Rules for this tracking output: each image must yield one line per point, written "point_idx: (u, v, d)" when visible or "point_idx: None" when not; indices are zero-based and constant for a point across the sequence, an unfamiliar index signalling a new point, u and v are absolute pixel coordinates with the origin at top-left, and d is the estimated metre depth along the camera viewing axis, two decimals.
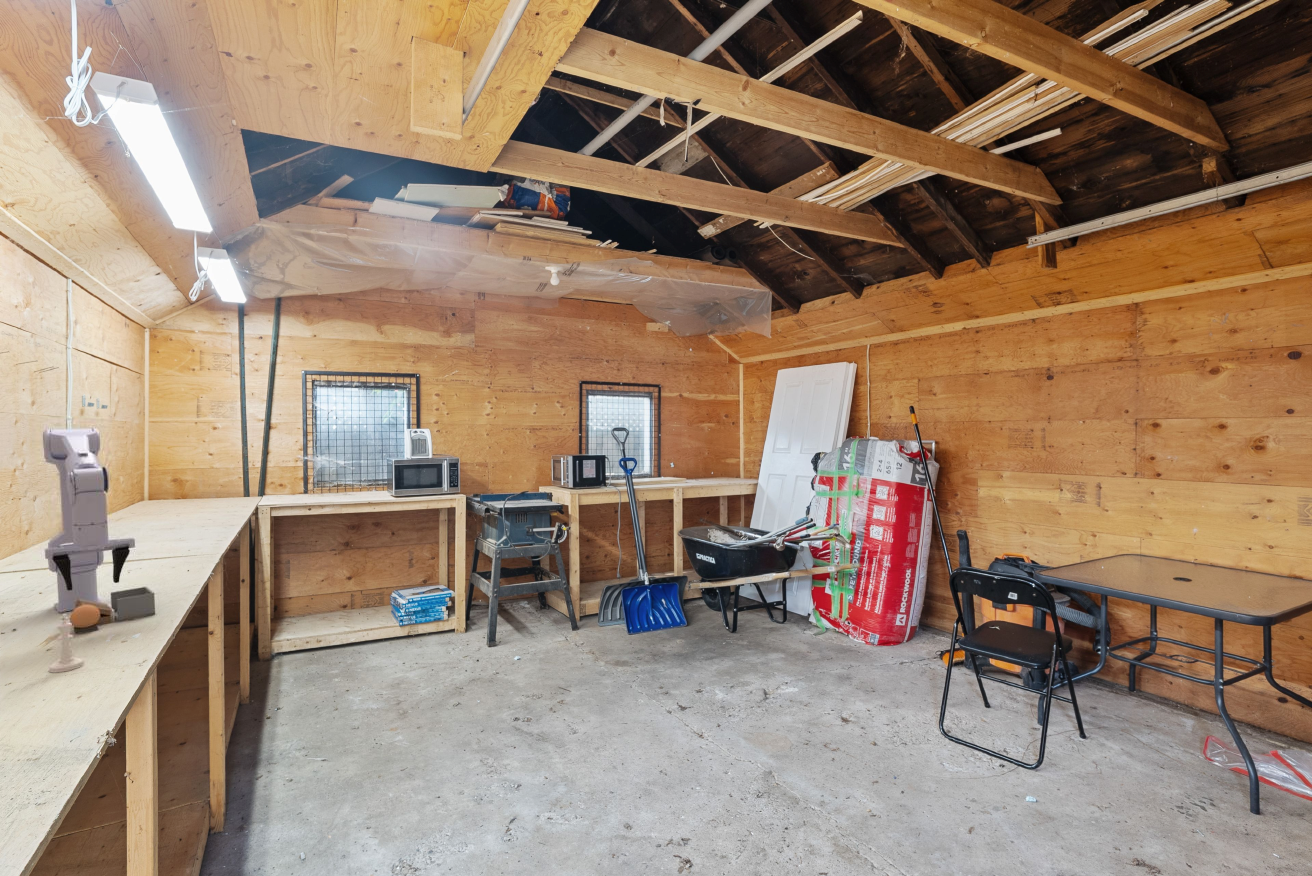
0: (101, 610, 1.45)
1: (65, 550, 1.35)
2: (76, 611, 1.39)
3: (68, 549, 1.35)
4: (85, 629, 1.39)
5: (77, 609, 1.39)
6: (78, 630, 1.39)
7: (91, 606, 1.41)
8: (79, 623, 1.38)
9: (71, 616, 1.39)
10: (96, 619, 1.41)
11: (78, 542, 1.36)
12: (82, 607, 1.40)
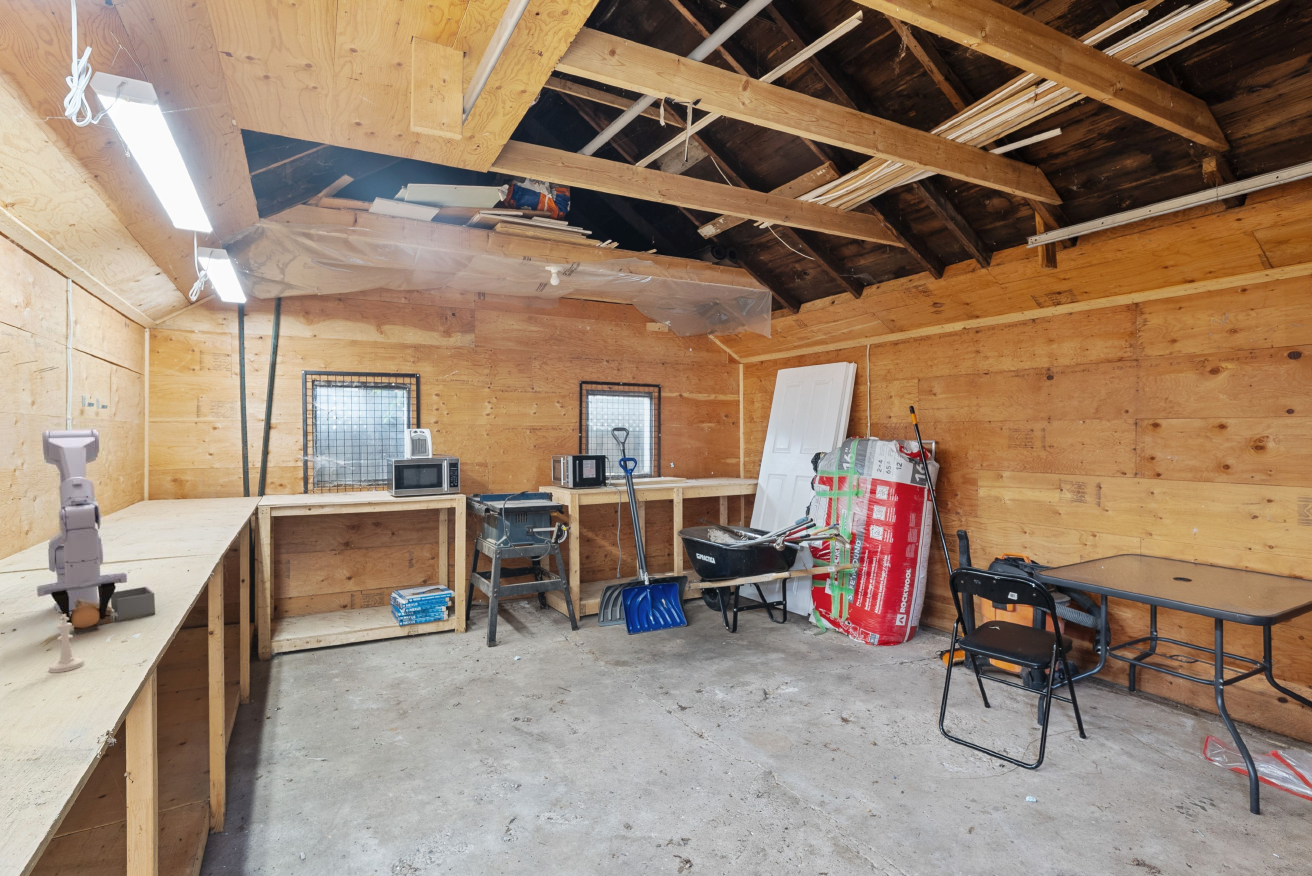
0: None
1: (57, 587, 1.36)
2: (77, 611, 1.39)
3: (60, 586, 1.36)
4: (85, 629, 1.39)
5: (77, 609, 1.39)
6: (78, 630, 1.39)
7: (91, 606, 1.41)
8: (79, 623, 1.38)
9: (71, 616, 1.39)
10: (96, 619, 1.41)
11: (70, 579, 1.37)
12: (82, 607, 1.40)
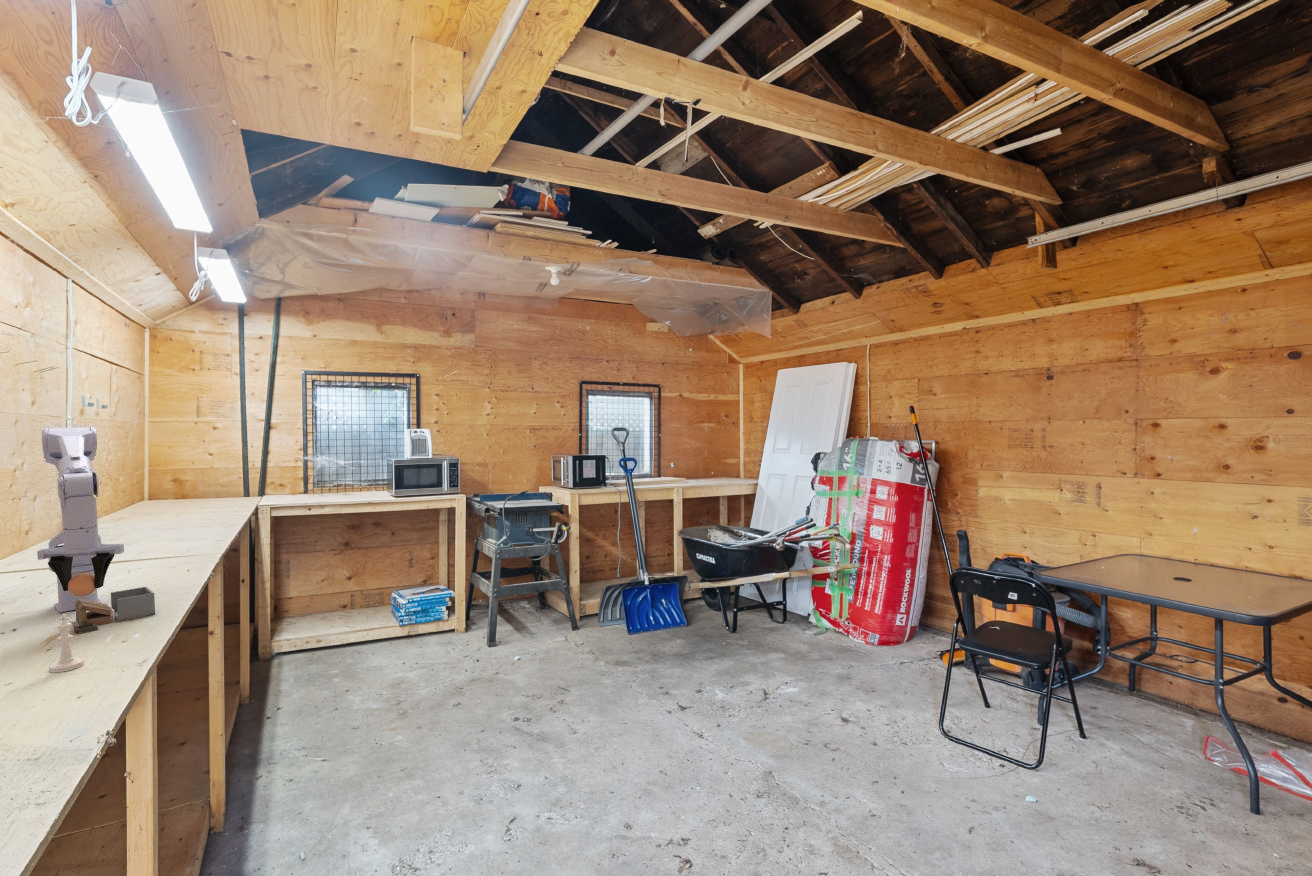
0: (101, 610, 1.45)
1: (52, 552, 1.39)
2: (72, 578, 1.40)
3: (55, 552, 1.39)
4: (85, 629, 1.39)
5: (74, 576, 1.41)
6: (78, 630, 1.39)
7: (87, 575, 1.42)
8: (71, 590, 1.39)
9: (68, 583, 1.40)
10: (88, 588, 1.41)
11: (64, 546, 1.39)
12: (78, 575, 1.41)
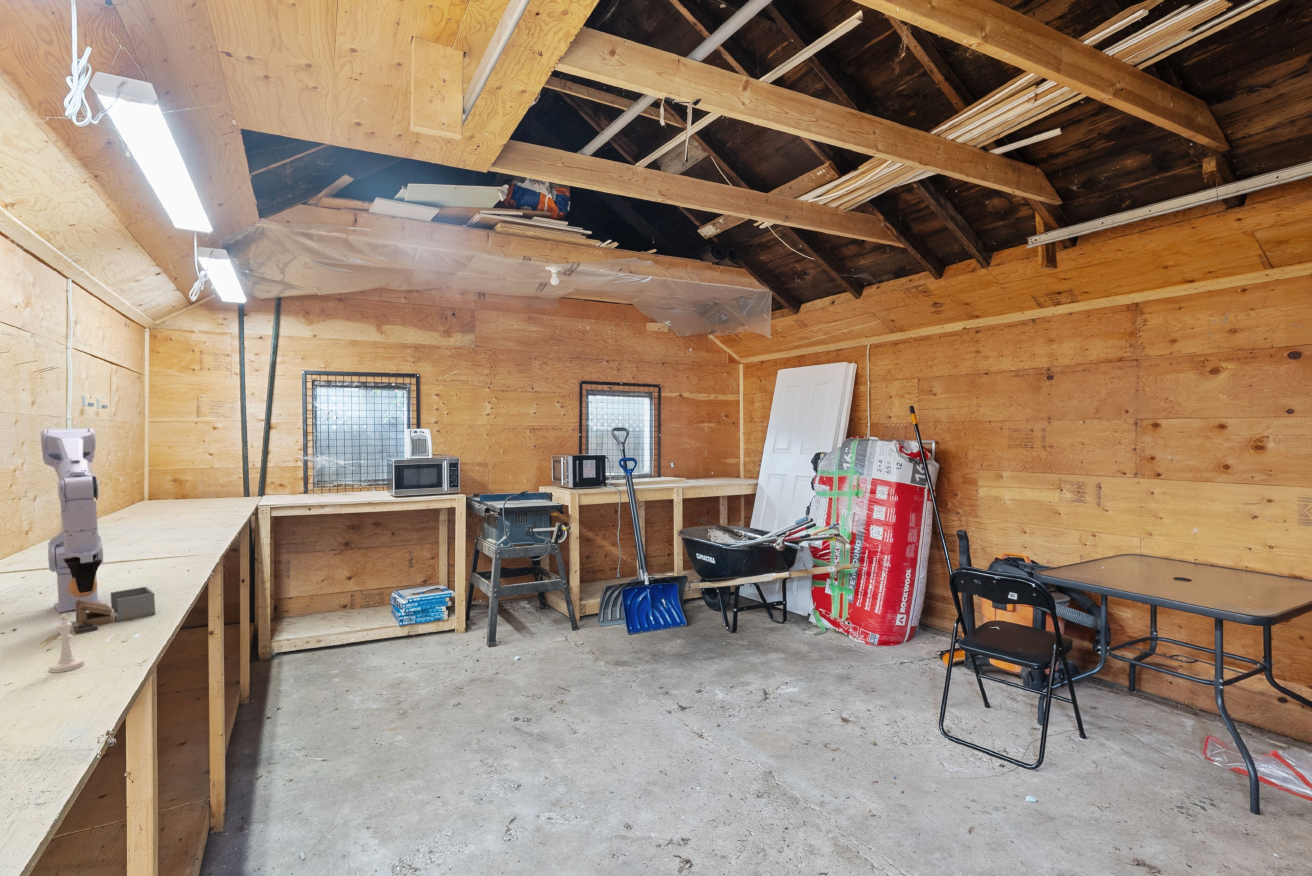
0: (101, 610, 1.45)
1: None
2: None
3: None
4: (85, 629, 1.39)
5: None
6: (78, 630, 1.39)
7: None
8: None
9: None
10: (73, 591, 1.43)
11: None
12: None
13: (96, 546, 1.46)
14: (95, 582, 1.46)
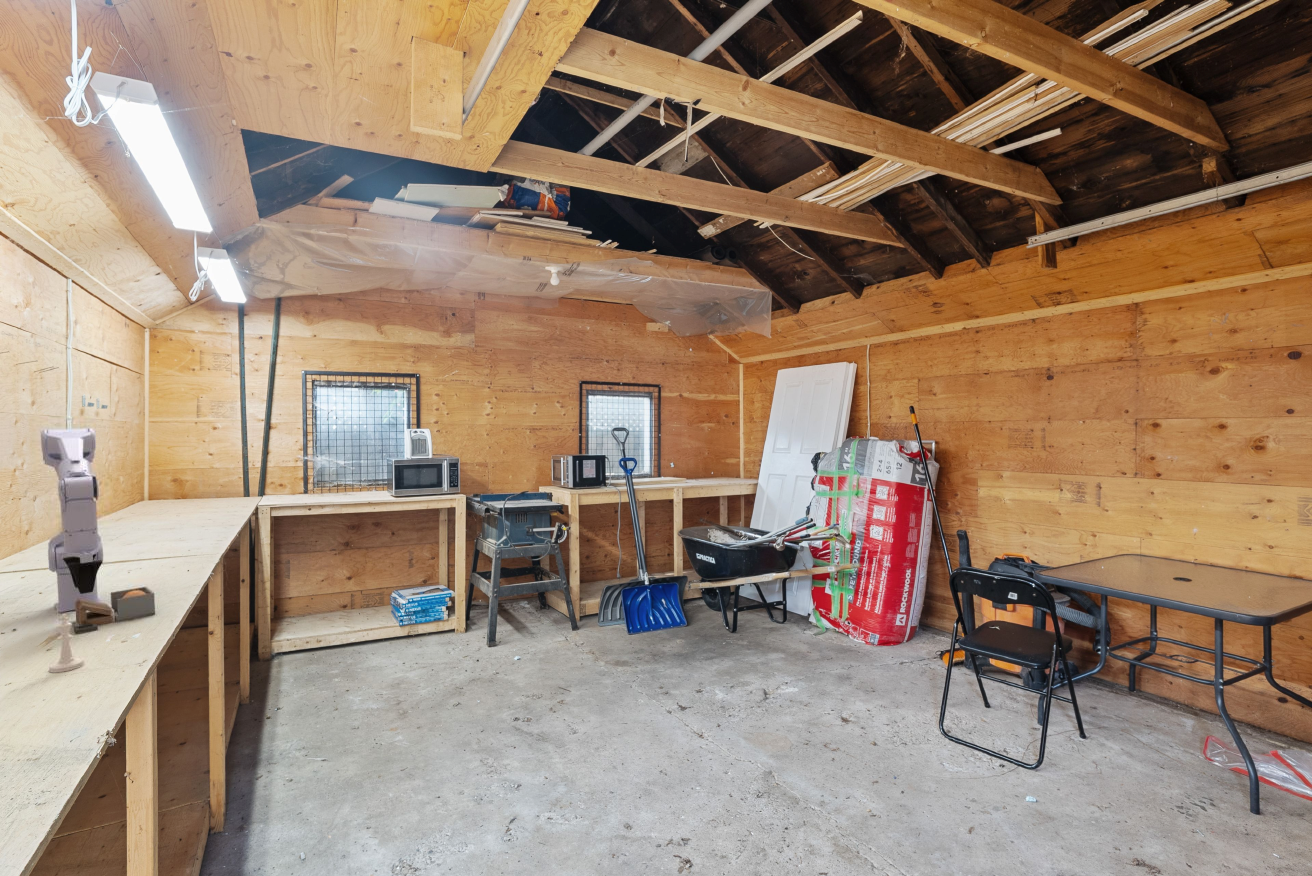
0: (101, 610, 1.45)
1: None
2: None
3: None
4: (85, 629, 1.39)
5: None
6: (78, 630, 1.39)
7: None
8: None
9: None
10: None
11: None
12: None
13: (96, 546, 1.46)
14: None
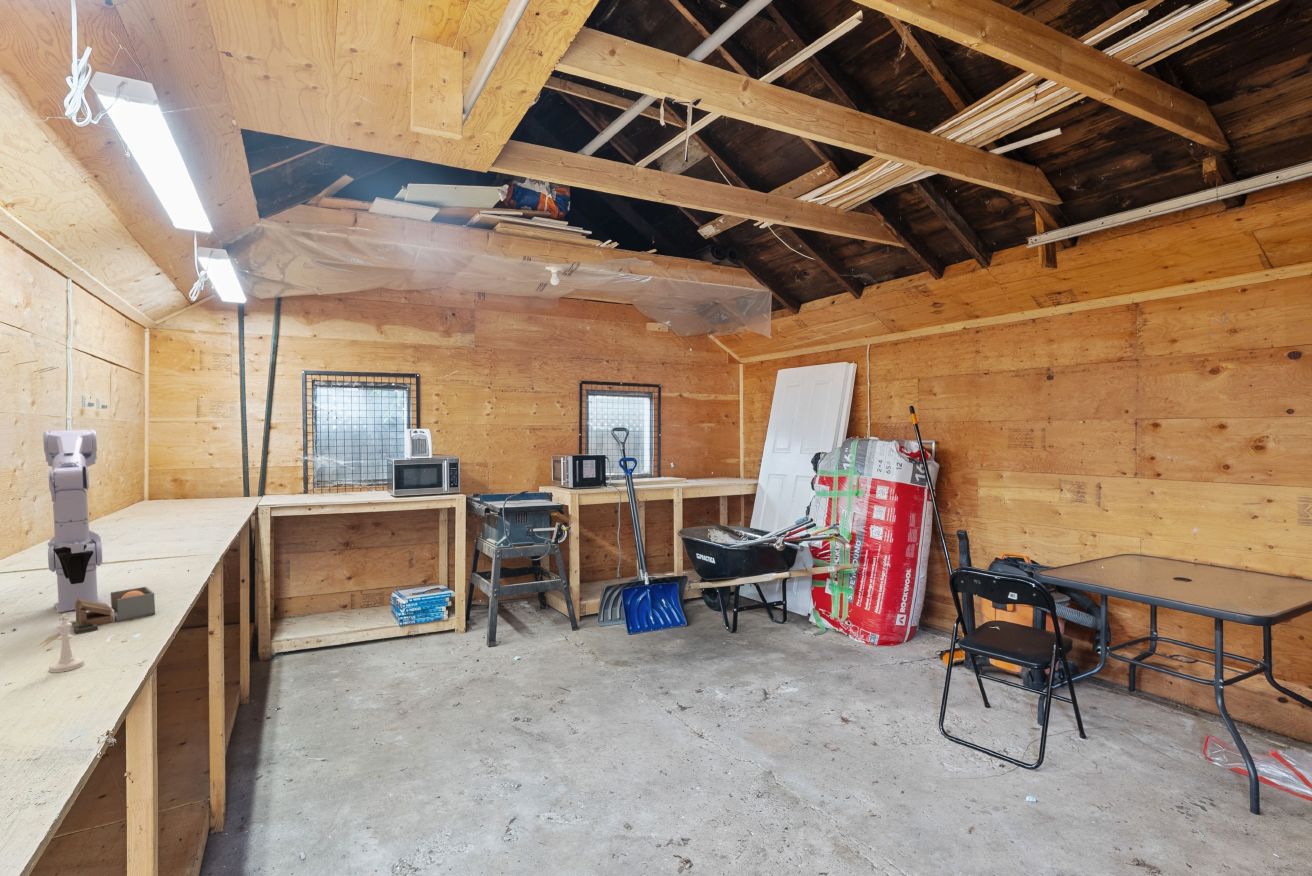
0: (101, 610, 1.45)
1: None
2: None
3: None
4: (85, 629, 1.39)
5: None
6: (78, 630, 1.39)
7: None
8: None
9: None
10: None
11: None
12: None
13: (87, 537, 1.45)
14: None
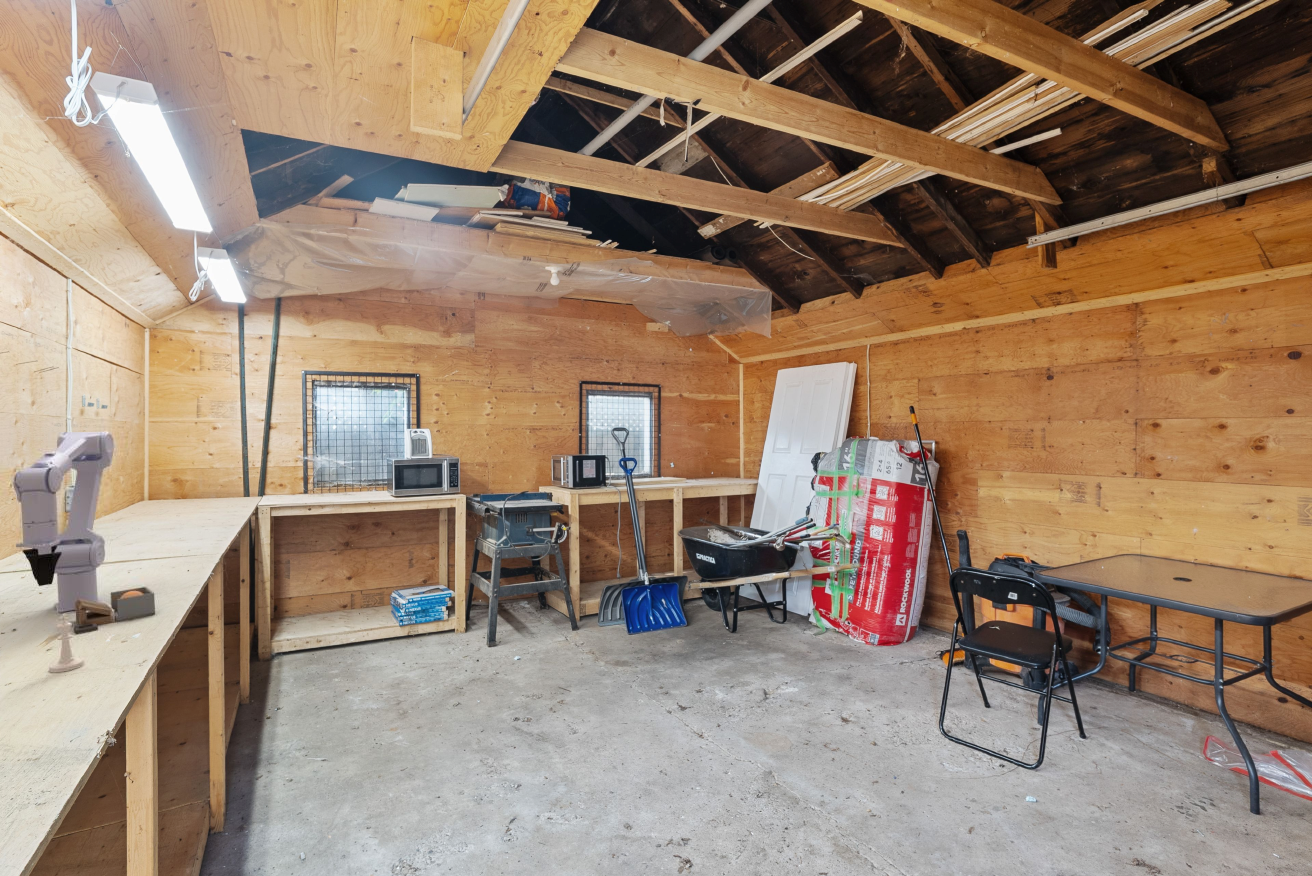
0: (101, 610, 1.45)
1: None
2: None
3: None
4: (85, 629, 1.39)
5: None
6: (78, 630, 1.39)
7: None
8: None
9: None
10: None
11: None
12: None
13: (56, 538, 1.44)
14: None
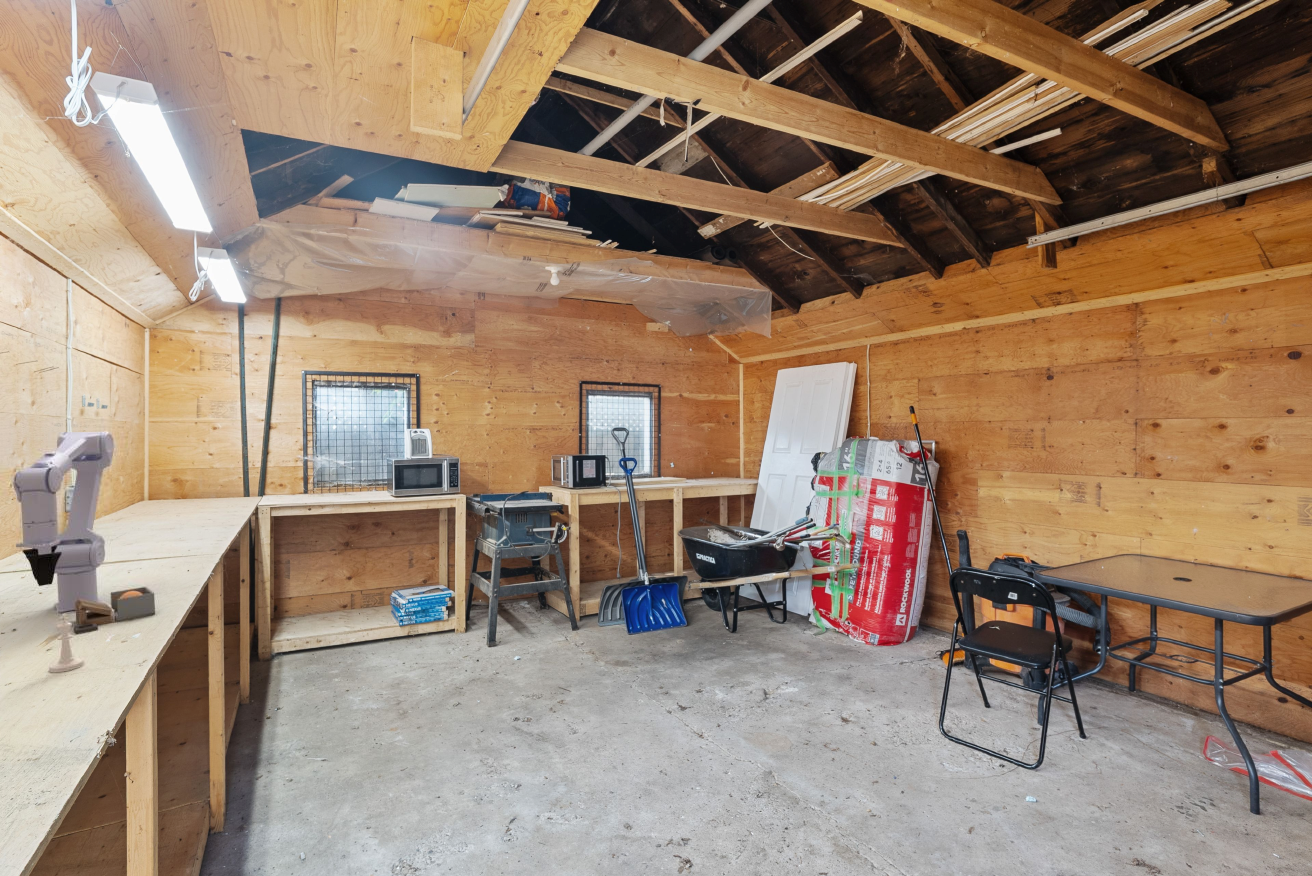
0: (101, 610, 1.45)
1: None
2: None
3: None
4: (85, 629, 1.39)
5: None
6: (78, 630, 1.39)
7: None
8: None
9: None
10: None
11: None
12: None
13: (56, 538, 1.44)
14: None
